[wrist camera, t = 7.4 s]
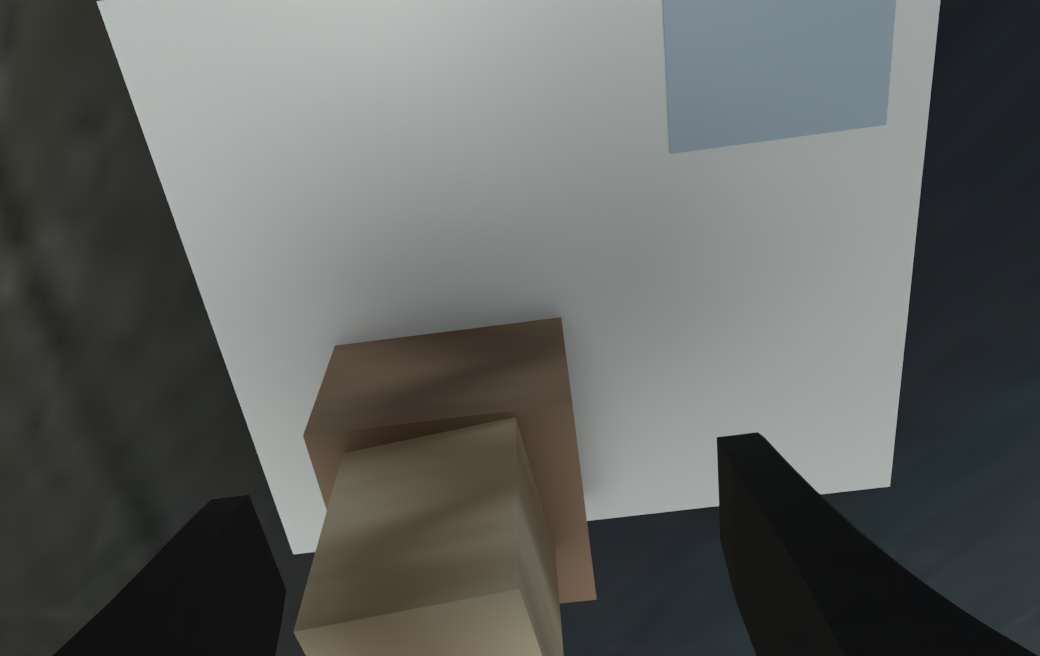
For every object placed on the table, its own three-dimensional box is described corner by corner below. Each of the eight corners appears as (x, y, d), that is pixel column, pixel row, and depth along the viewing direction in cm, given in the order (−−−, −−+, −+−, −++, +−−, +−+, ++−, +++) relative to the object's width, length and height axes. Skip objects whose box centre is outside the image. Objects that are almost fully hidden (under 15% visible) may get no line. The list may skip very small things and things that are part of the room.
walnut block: (561, 317, 22) (572, 403, 18) (583, 495, 25) (596, 599, 21) (335, 345, 22) (302, 435, 18) (382, 518, 25) (363, 624, 21)
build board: (941, -126, 17) (955, -126, 17) (883, 475, 25) (891, 488, 24) (106, -2, 18) (94, 2, 18) (296, 542, 26) (292, 556, 25)
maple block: (515, 416, 18) (519, 589, 14) (555, 548, 20) (569, 736, 16) (342, 453, 19) (293, 632, 14) (397, 579, 21) (368, 771, 16)
